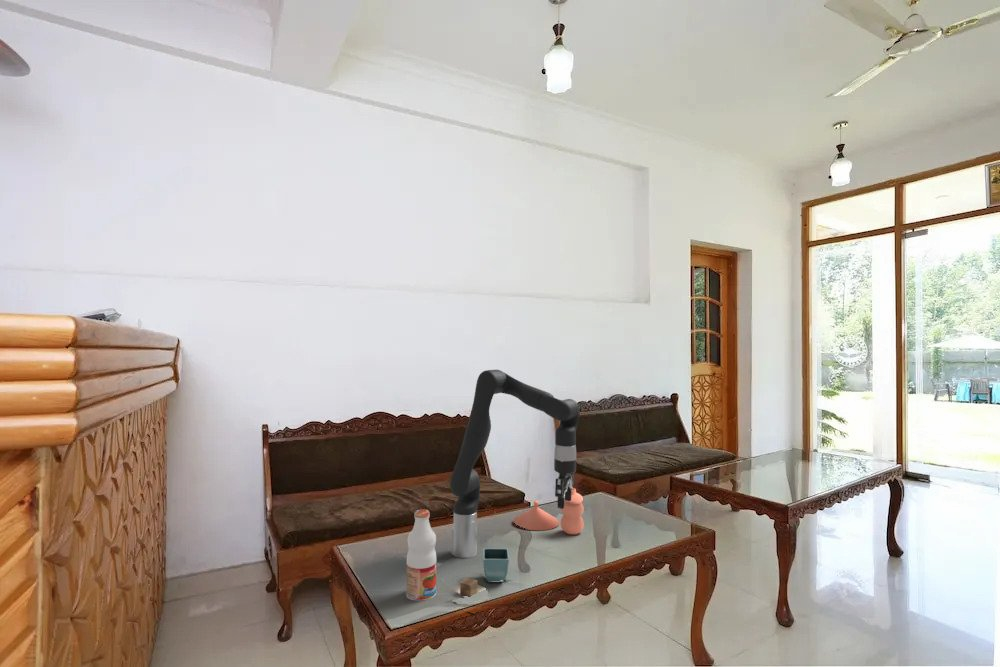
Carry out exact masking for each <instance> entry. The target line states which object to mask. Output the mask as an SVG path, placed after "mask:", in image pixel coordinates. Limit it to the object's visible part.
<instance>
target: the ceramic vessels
mask: <svg viewBox="0 0 1000 667" xmlns="http://www.w3.org/2000/svg"><path fill="white" fill-rule="evenodd" d="M583 500H584V498H583V496H582V494H580V493H578V492H577V489H576V488H575V487H572V492H571V501H566V500H565V499H564V508H563V509H560V511H561V513H562V514H563V515H562V517H561V518H560V521H559V519H558V518H556V517H555V516H553V515H551V514H550V513H548V512H546V511H545V510H543V509H541V508H539V501H538V500H534V502H533V507H532V508H531V509H529V510H526V511H524V512H523V513H521V514H519V515H517V516H516V517H514V519H513V523H515V524H516V525H515V524H514V525H515V526H517V525H519V526H521V527H523V528H522V529H524V528H525V529H524V530H529V531H547V530H548V531H549V530H551V529H555V528H556V527H558V526H559V525H560V527H561V529H562V530H563V531H564V533H566V534H567V535H578V534H579V533H581V532H582V530H583V529H584V526H585V523H584V519H583V518H582V514H583V513H584V512H585V510H584V509H585V508H584V505H583V503H582V502H583ZM521 527H520V528H521Z"/></svg>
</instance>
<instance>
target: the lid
mask: <svg viewBox="0 0 1000 667" xmlns="http://www.w3.org/2000/svg"><path fill="white" fill-rule="evenodd" d="M486 589H487V588H486V587H484V586H482V585H480V584H479V583H478V579H474V578H470V577H465V578H464V579H463V580H462V581H460V583H459V585H457V586H455V587H452V590H453V591H454V592H456V593H457V594H458V595H461V597H463V596H468V597H471V596H472V595H474V594H476V593H477V592H481V591H483V590H486Z"/></svg>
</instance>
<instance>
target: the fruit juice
mask: <svg viewBox="0 0 1000 667" xmlns="http://www.w3.org/2000/svg"><path fill="white" fill-rule="evenodd" d="M430 515H431V513H430V510H428V509H417V510H415V511H414V516H413V517H414V525H413V526H412V527H413V528H412V530H411V531H410V532H409V534H408V536H407V541H406V542H407V548H408V551H407V555H406V582H405V583H406V593H405V595H406V597H407V599H409V600H412V601H425V600H429V599H432V598H434V597H435V596H436V594H437V552H436V548H435V547H436V544H437V536H436V532H435V531H434V530H433V529H432V527H431V524H430V520H429V519H430V517H431V516H430Z"/></svg>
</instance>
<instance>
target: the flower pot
mask: <svg viewBox="0 0 1000 667" xmlns="http://www.w3.org/2000/svg"><path fill="white" fill-rule="evenodd" d="M482 551H483V552H482V554H483V555H482V556H483V559H482V561H483V573H484V576H485V579H486V581H487V583H490V582H491V581H500V580H504V581H505V580H506V578H507V575H508V570H509V563H510V555H509V549H508V548H483V549H482Z"/></svg>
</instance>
